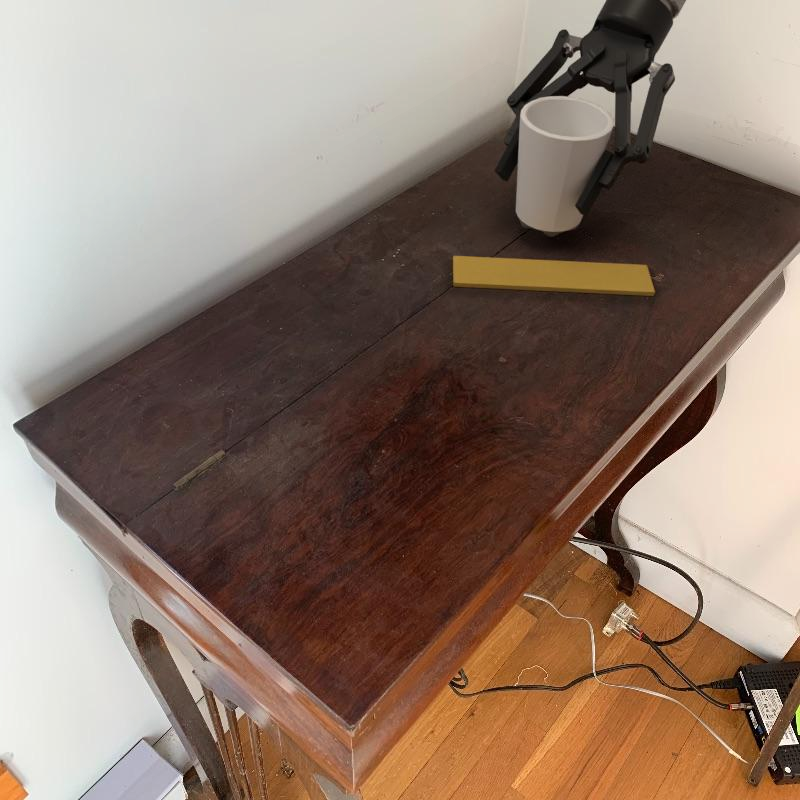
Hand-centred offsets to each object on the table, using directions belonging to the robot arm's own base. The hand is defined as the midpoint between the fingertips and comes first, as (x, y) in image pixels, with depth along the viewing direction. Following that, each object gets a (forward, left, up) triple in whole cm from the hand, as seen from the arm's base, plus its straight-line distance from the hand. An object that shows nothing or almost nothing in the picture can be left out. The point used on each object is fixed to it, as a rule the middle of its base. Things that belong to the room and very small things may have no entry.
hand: (539, 193), depth 88 cm
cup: (-1, -3, -5) cm, 6 cm away
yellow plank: (-4, +4, -7) cm, 9 cm away
